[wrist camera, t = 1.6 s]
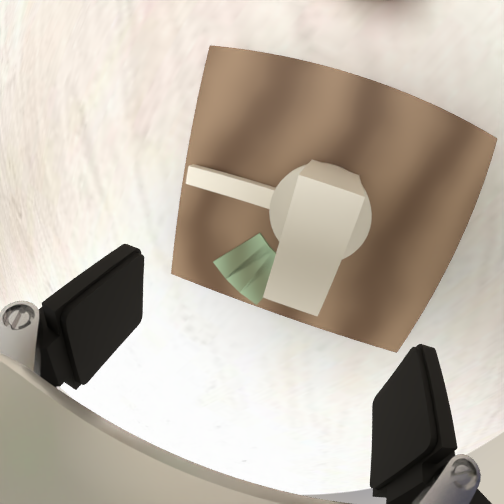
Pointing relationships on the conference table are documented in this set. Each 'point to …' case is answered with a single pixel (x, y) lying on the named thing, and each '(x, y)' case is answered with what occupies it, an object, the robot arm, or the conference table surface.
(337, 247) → the peg knob
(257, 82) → the dial board
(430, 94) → the conference table surface
